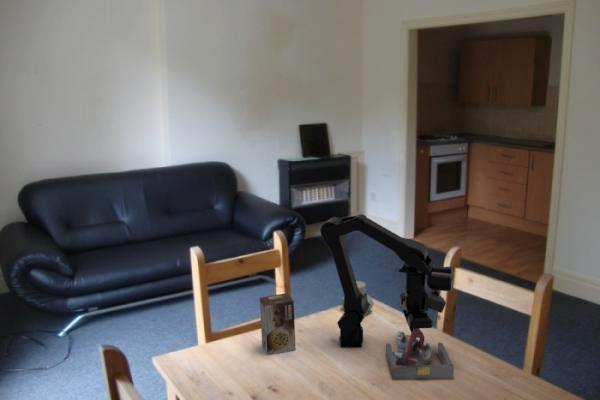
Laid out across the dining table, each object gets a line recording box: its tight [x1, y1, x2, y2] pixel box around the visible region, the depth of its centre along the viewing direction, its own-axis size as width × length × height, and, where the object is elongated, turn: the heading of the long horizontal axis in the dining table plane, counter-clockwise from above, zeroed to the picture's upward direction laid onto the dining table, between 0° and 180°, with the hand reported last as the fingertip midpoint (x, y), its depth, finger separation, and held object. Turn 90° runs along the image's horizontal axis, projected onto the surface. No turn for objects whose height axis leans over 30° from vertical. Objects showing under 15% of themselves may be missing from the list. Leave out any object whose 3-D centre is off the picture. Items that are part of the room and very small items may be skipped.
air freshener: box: [340, 280, 374, 311], centre depth 194 cm, size 11×8×10 cm
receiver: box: [385, 342, 455, 380], centre depth 158 cm, size 16×14×4 cm
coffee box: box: [259, 292, 297, 356], centre depth 169 cm, size 9×6×16 cm
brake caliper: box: [392, 328, 433, 365], centre depth 161 cm, size 11×11×12 cm
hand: (414, 336), depth 165 cm, fingers closed
